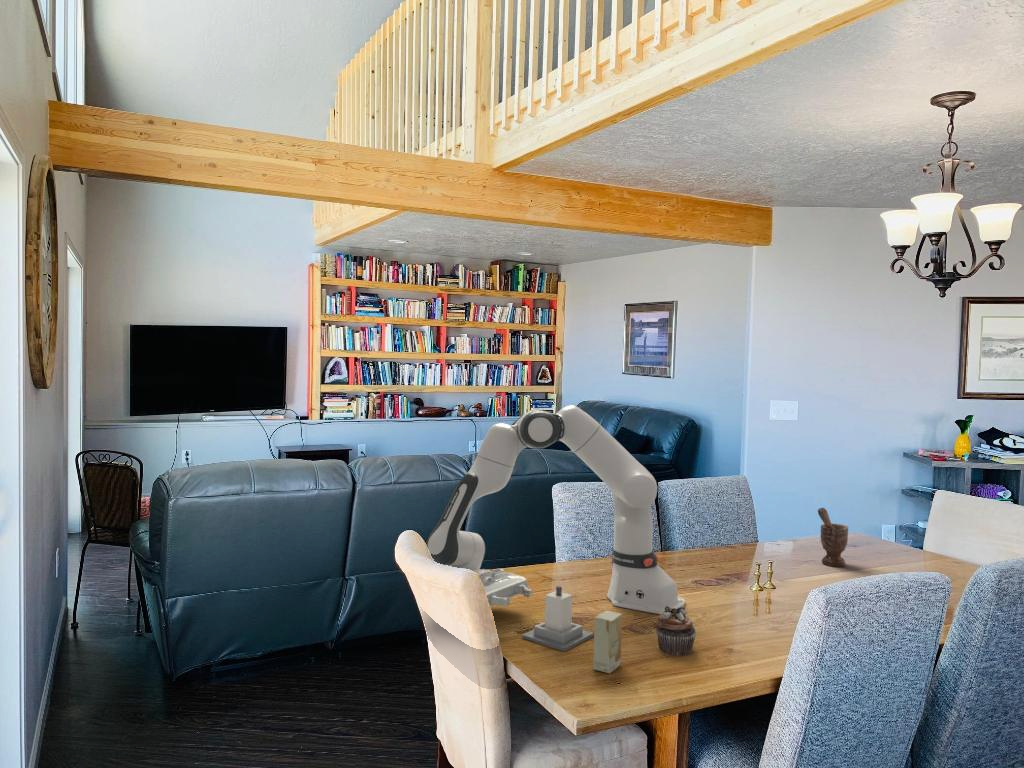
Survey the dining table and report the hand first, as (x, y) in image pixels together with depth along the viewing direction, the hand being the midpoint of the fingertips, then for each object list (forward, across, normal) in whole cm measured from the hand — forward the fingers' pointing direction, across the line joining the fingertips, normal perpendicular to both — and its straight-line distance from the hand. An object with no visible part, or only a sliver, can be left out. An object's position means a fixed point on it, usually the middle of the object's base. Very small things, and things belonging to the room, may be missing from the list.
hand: (519, 597), depth 202 cm
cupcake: (+39, +13, +7) cm, 41 cm away
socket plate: (+13, 0, +7) cm, 14 cm away
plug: (+13, 0, +6) cm, 14 cm away
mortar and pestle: (+46, +112, +7) cm, 121 cm away
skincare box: (+32, -7, +7) cm, 33 cm away
